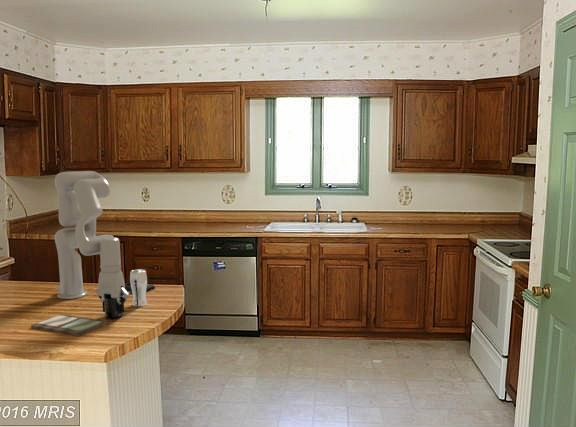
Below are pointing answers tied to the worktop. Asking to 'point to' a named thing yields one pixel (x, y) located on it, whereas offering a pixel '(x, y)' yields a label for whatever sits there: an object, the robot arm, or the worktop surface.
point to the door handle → (129, 290)
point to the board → (69, 324)
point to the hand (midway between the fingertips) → (113, 311)
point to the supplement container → (111, 307)
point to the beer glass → (138, 287)
